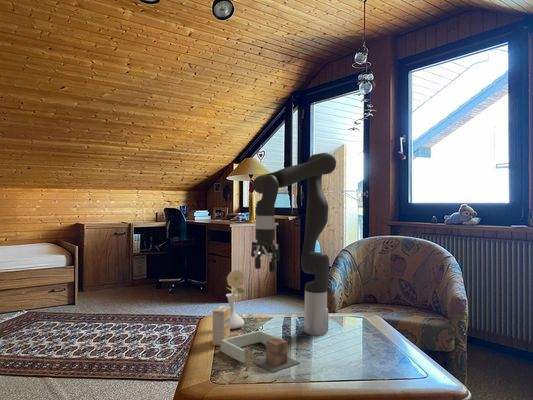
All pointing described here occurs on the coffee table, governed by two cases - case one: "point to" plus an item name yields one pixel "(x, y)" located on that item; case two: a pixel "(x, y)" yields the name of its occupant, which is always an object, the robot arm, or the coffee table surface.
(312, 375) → the coffee table surface
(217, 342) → the supplement box
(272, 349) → the walnut block
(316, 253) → the robot arm
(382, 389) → the coffee table surface
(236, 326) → the flower in vase
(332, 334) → the coffee table surface
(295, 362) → the charcoal mat
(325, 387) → the coffee table surface
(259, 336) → the open-side box
